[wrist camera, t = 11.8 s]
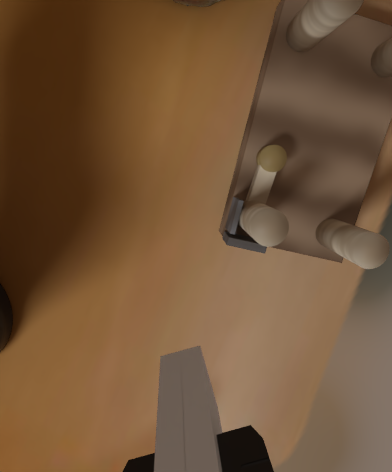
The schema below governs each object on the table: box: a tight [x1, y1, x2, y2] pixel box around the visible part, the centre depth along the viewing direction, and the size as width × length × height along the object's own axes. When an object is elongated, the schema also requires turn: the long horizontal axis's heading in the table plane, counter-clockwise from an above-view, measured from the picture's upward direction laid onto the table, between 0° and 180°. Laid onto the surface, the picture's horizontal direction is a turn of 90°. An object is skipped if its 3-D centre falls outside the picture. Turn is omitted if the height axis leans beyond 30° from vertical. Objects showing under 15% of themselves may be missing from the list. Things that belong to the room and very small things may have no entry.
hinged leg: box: [238, 145, 289, 247], centre depth 30 cm, size 9×3×8 cm, turn 163°
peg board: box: [219, 0, 392, 269], centre depth 31 cm, size 24×14×11 cm, turn 166°
